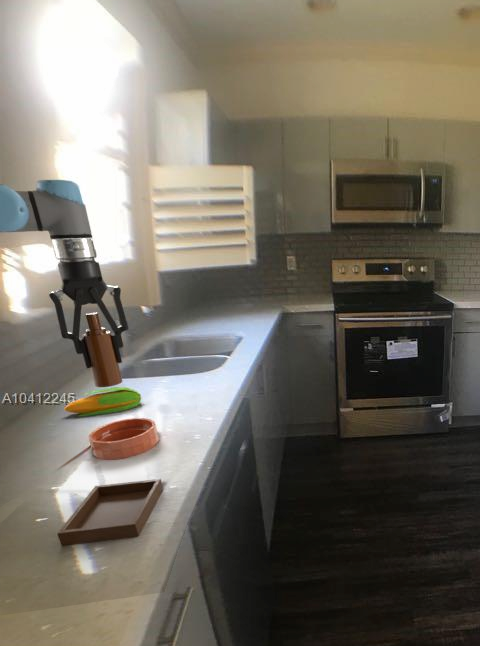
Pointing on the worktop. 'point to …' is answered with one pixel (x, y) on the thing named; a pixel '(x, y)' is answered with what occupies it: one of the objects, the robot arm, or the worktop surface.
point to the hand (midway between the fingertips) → (104, 364)
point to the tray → (112, 512)
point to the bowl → (123, 438)
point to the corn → (105, 402)
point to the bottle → (101, 353)
